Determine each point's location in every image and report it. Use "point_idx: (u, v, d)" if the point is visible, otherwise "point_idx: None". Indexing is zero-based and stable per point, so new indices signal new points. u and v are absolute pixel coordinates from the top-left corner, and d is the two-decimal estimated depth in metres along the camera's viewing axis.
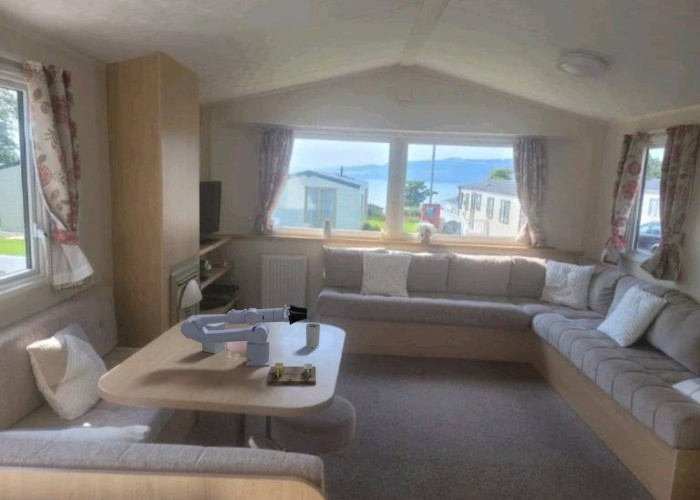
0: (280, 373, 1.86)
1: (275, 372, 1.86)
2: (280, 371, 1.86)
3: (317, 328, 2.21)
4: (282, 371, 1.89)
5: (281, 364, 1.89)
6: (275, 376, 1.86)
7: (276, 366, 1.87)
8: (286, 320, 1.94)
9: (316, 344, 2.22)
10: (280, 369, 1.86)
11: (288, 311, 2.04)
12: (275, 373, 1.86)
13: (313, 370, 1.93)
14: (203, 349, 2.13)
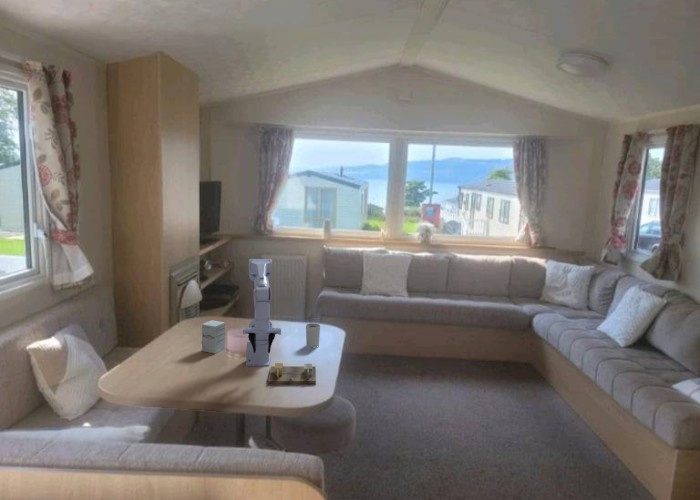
0: (280, 373, 1.86)
1: (275, 372, 1.86)
2: (280, 371, 1.86)
3: (317, 328, 2.21)
4: (282, 371, 1.89)
5: (281, 364, 1.89)
6: (275, 376, 1.86)
7: (276, 366, 1.87)
8: (243, 331, 1.85)
9: (316, 344, 2.22)
10: (280, 369, 1.86)
11: None
12: (275, 373, 1.86)
13: (313, 370, 1.93)
14: (203, 349, 2.13)
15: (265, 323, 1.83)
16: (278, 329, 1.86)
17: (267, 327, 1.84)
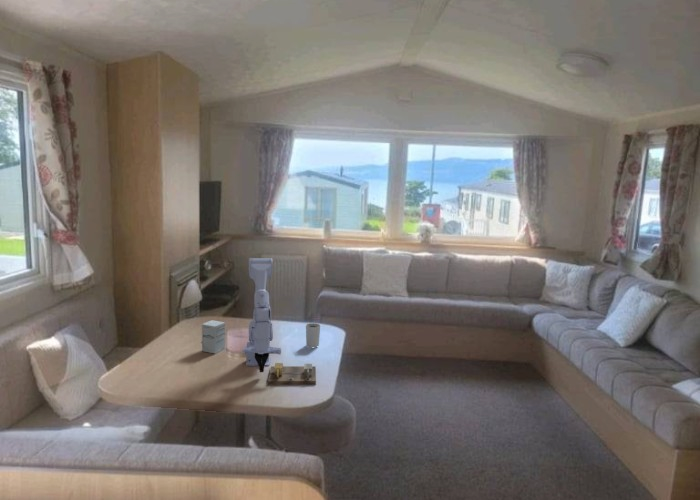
0: (280, 373, 1.86)
1: (275, 372, 1.86)
2: (280, 371, 1.86)
3: (317, 328, 2.21)
4: (282, 371, 1.89)
5: (281, 364, 1.89)
6: (275, 376, 1.86)
7: (276, 366, 1.87)
8: (243, 350, 1.87)
9: (316, 344, 2.22)
10: (280, 369, 1.86)
11: (271, 352, 1.87)
12: (275, 373, 1.86)
13: (313, 370, 1.93)
14: (203, 349, 2.13)
15: (265, 343, 1.84)
16: (278, 349, 1.87)
17: (267, 347, 1.85)
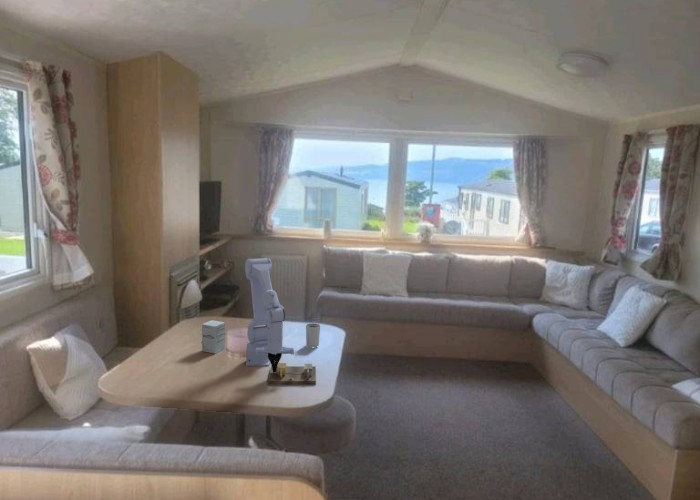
0: (283, 373, 1.86)
1: (278, 372, 1.86)
2: (283, 371, 1.86)
3: (317, 328, 2.21)
4: None
5: (284, 364, 1.90)
6: (275, 376, 1.86)
7: (279, 366, 1.87)
8: (256, 351, 1.87)
9: (316, 344, 2.22)
10: (283, 369, 1.86)
11: None
12: (278, 373, 1.86)
13: (313, 370, 1.93)
14: (203, 349, 2.13)
15: (278, 343, 1.84)
16: (291, 349, 1.88)
17: (280, 347, 1.85)
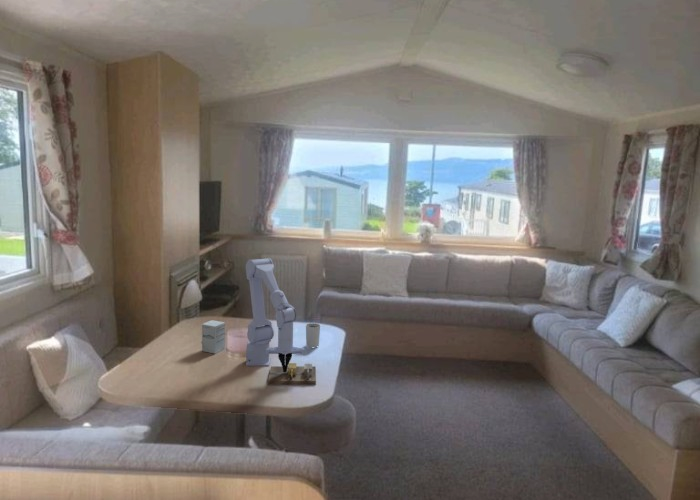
0: (294, 373, 1.87)
1: (289, 372, 1.87)
2: (294, 371, 1.87)
3: (317, 328, 2.21)
4: None
5: (295, 364, 1.90)
6: (275, 376, 1.86)
7: (290, 366, 1.88)
8: None
9: (316, 344, 2.22)
10: (294, 369, 1.87)
11: None
12: (289, 373, 1.87)
13: (313, 370, 1.93)
14: (203, 349, 2.13)
15: (289, 343, 1.85)
16: (301, 349, 1.88)
17: (290, 347, 1.86)
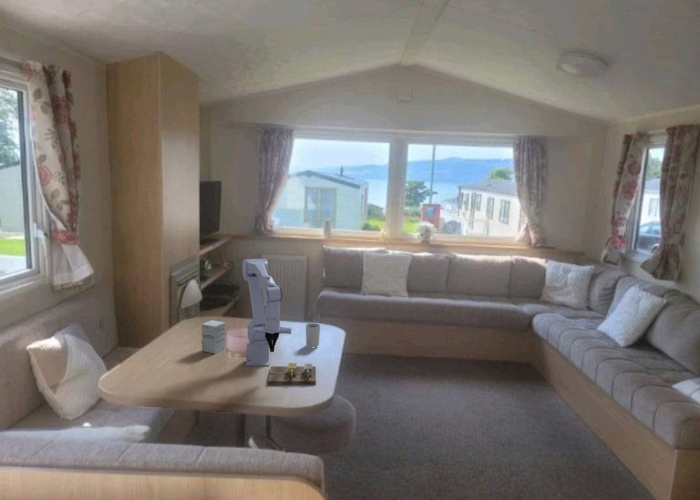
0: (294, 373, 1.87)
1: (289, 372, 1.87)
2: (294, 371, 1.87)
3: (317, 328, 2.21)
4: None
5: (295, 364, 1.90)
6: (275, 376, 1.86)
7: (290, 366, 1.88)
8: None
9: (316, 344, 2.22)
10: (294, 369, 1.87)
11: None
12: (289, 373, 1.87)
13: (313, 370, 1.93)
14: (203, 349, 2.13)
15: (275, 323, 1.84)
16: (288, 329, 1.87)
17: (277, 327, 1.85)
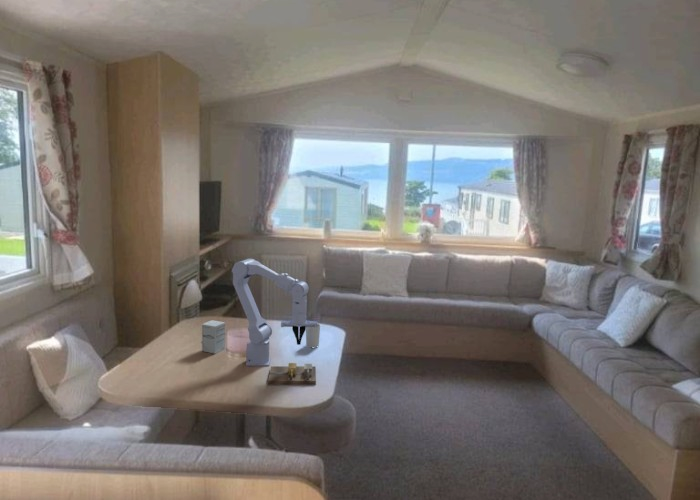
0: (294, 373, 1.87)
1: (289, 372, 1.87)
2: (294, 371, 1.87)
3: (317, 328, 2.21)
4: None
5: (295, 364, 1.90)
6: (275, 376, 1.86)
7: (290, 366, 1.88)
8: (281, 324, 1.95)
9: (316, 344, 2.22)
10: (294, 369, 1.87)
11: None
12: (289, 373, 1.87)
13: (313, 370, 1.93)
14: (203, 349, 2.13)
15: (302, 316, 1.93)
16: (314, 322, 1.96)
17: (304, 320, 1.94)
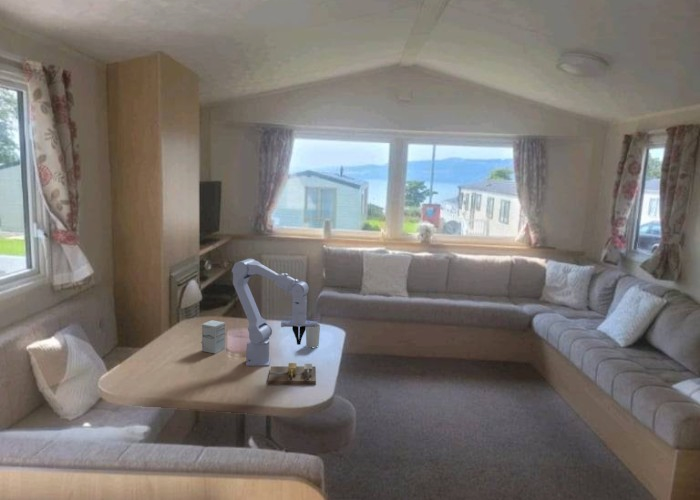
0: (294, 373, 1.87)
1: (289, 372, 1.87)
2: (294, 371, 1.87)
3: (317, 328, 2.21)
4: None
5: (295, 364, 1.90)
6: (275, 376, 1.86)
7: (290, 366, 1.88)
8: (281, 324, 1.95)
9: (316, 344, 2.22)
10: (294, 369, 1.87)
11: None
12: (289, 373, 1.87)
13: (313, 370, 1.93)
14: (203, 349, 2.13)
15: (302, 316, 1.93)
16: (314, 322, 1.96)
17: (304, 320, 1.94)
